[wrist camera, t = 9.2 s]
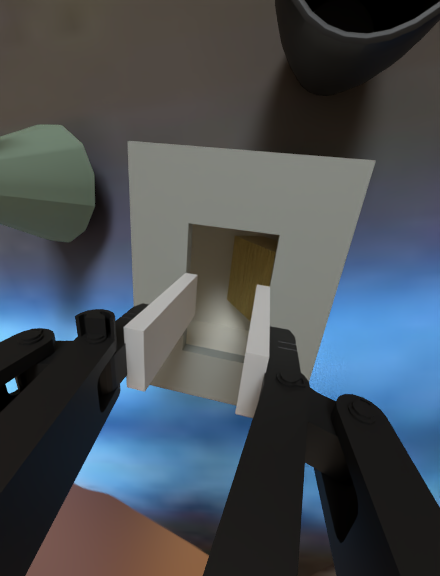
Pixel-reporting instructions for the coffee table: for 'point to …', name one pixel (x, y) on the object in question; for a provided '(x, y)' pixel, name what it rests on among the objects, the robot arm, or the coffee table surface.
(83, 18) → the coffee table surface
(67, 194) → the character figurine
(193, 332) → the box
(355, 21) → the mug
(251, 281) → the tall tan block
